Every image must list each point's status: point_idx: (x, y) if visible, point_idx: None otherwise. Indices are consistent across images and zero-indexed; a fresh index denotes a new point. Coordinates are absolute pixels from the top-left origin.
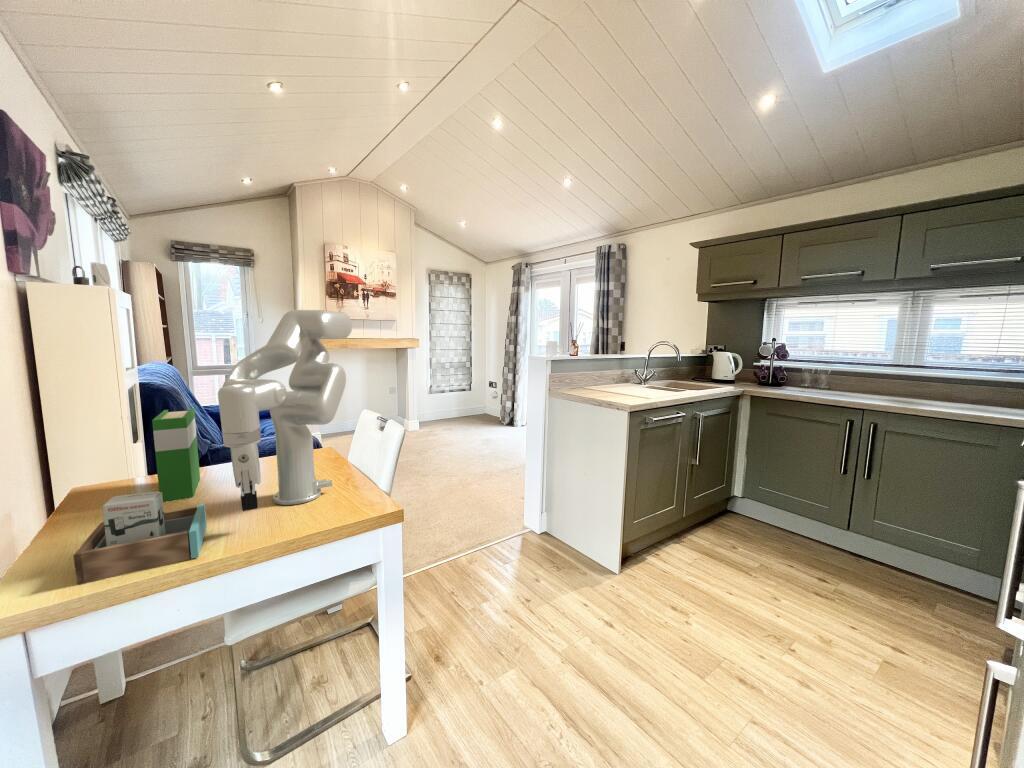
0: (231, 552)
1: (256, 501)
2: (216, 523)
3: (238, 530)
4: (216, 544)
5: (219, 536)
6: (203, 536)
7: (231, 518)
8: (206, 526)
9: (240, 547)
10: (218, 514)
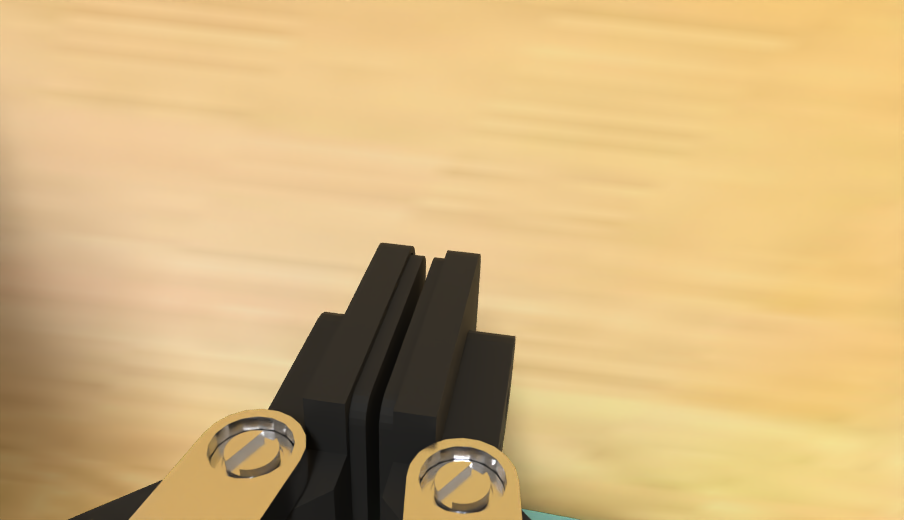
0: (890, 385)
1: (464, 318)
2: (185, 391)
3: None
4: (617, 442)
5: None
6: None
7: (124, 298)
8: None
9: (843, 319)
10: (6, 360)
